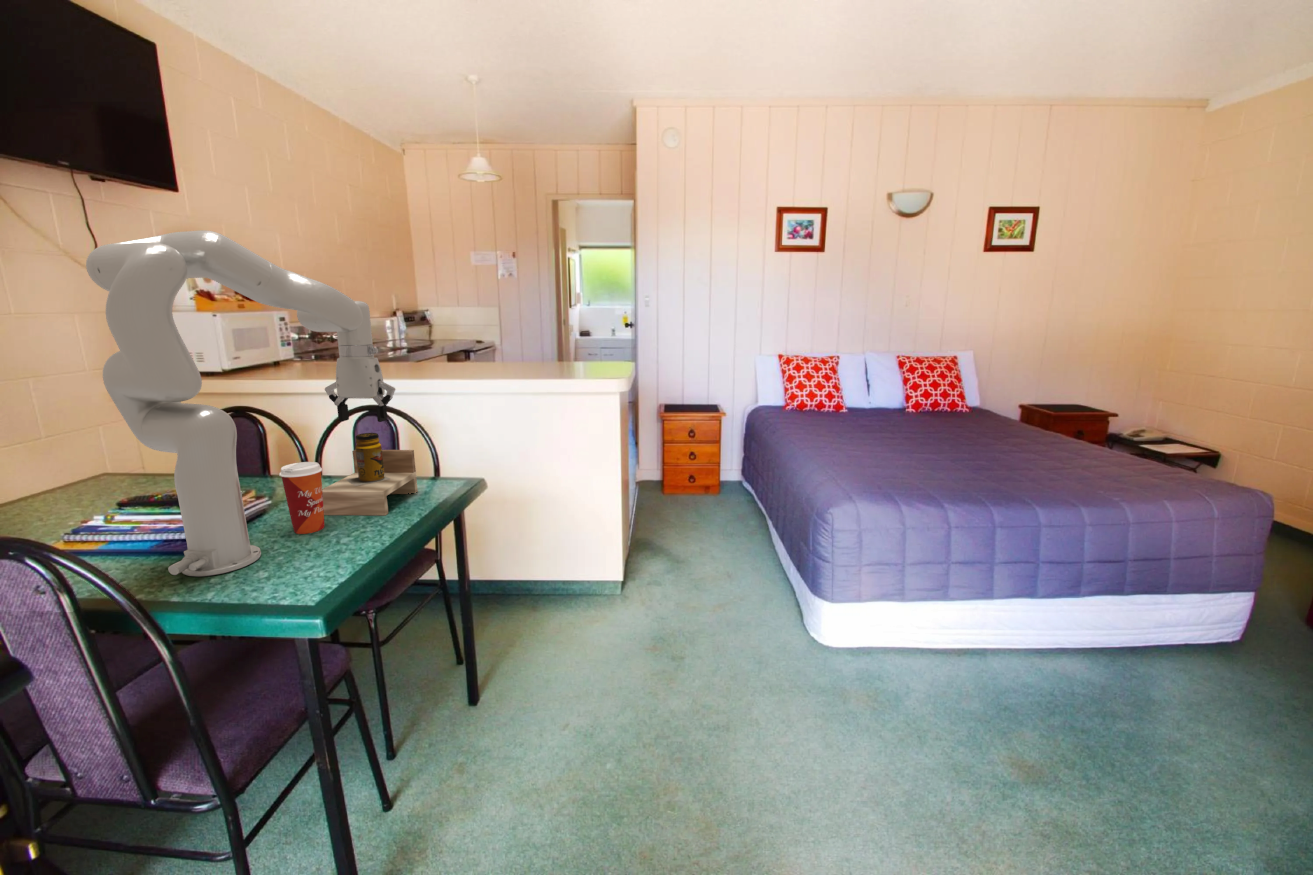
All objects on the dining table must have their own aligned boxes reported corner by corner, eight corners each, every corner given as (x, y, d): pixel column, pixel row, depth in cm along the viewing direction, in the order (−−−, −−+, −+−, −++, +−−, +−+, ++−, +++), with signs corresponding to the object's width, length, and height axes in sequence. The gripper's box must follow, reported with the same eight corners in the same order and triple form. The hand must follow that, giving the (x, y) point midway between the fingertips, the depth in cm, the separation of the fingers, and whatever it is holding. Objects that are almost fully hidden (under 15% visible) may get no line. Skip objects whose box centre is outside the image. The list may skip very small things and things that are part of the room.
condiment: (390, 479, 146) (385, 434, 143) (355, 486, 140) (349, 439, 137) (380, 474, 151) (375, 430, 148) (345, 480, 145) (340, 435, 142)
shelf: (385, 515, 137) (380, 468, 135) (320, 514, 138) (314, 467, 135) (417, 492, 155) (413, 449, 152) (360, 491, 155) (355, 449, 153)
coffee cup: (310, 537, 124) (301, 471, 121) (279, 534, 126) (268, 469, 122) (338, 523, 132) (330, 461, 129) (308, 521, 134) (299, 460, 130)
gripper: (398, 351, 142) (404, 418, 145) (330, 351, 143) (338, 418, 146) (383, 353, 135) (389, 423, 138) (312, 353, 135) (320, 423, 139)
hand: (363, 420), depth 142 cm, fingers open, 9 cm apart
